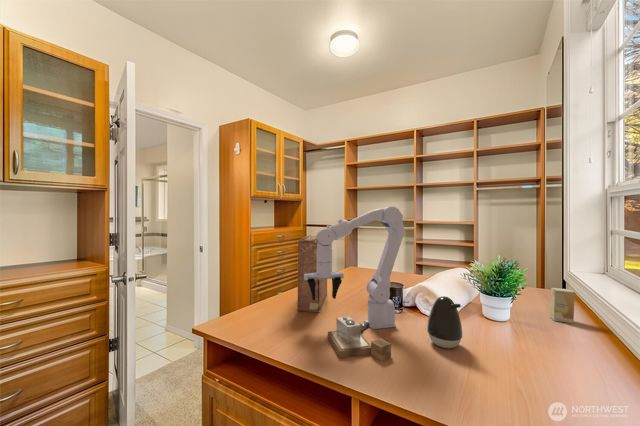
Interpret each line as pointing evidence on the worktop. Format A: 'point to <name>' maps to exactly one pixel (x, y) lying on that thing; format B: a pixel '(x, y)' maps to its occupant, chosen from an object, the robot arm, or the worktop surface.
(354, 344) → the stand
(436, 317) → the pump dispenser
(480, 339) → the worktop surface
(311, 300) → the book
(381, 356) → the walnut block
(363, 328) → the loose bolt
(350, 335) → the housing
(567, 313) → the skincare box
